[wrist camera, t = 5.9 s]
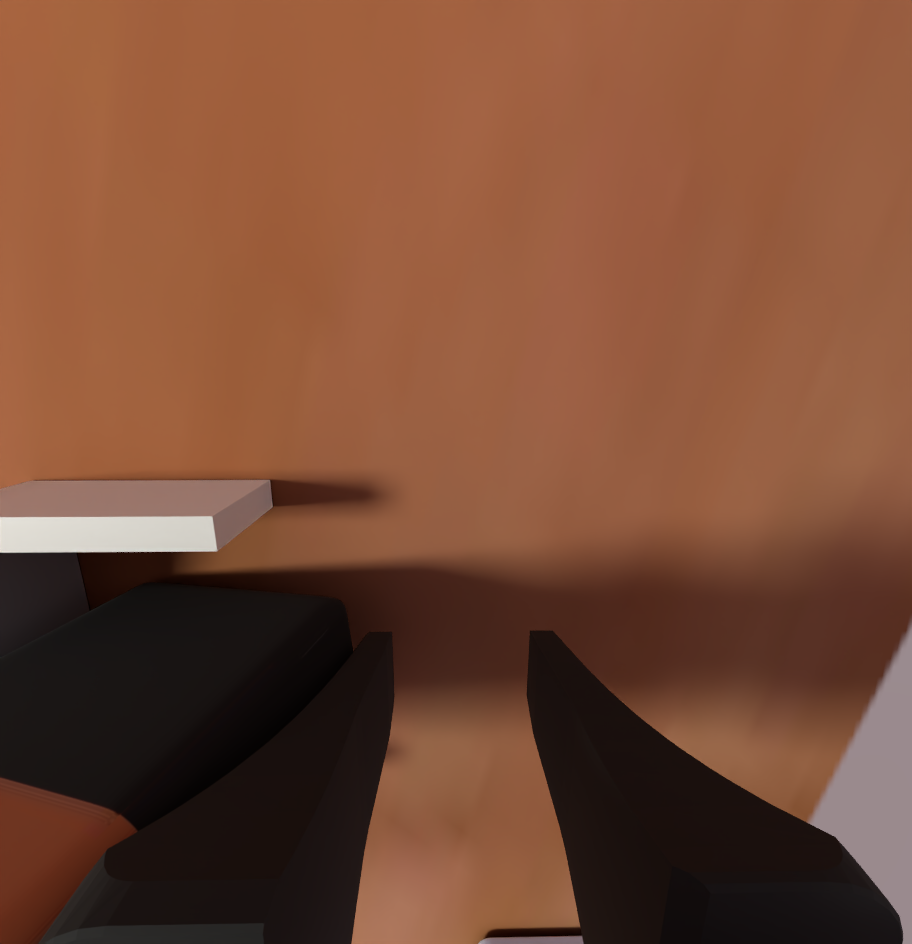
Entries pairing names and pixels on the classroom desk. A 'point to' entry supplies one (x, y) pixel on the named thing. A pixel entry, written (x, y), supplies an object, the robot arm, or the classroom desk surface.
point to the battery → (141, 722)
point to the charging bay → (103, 537)
